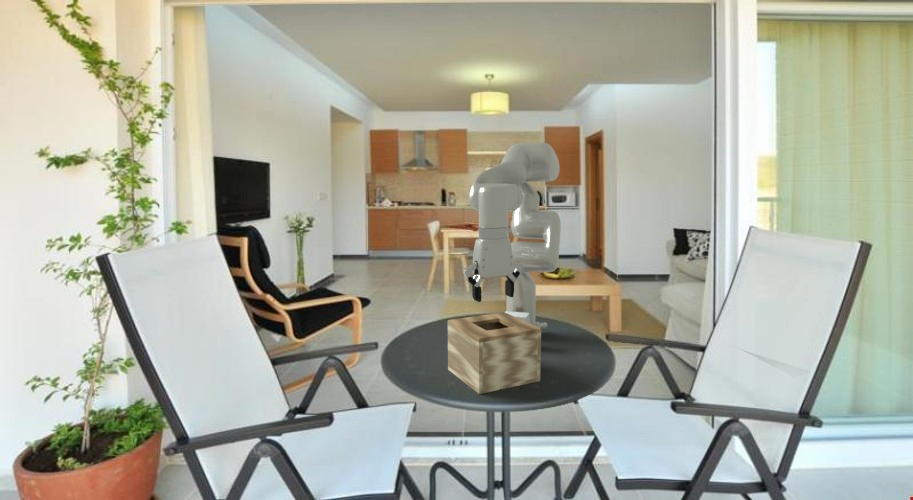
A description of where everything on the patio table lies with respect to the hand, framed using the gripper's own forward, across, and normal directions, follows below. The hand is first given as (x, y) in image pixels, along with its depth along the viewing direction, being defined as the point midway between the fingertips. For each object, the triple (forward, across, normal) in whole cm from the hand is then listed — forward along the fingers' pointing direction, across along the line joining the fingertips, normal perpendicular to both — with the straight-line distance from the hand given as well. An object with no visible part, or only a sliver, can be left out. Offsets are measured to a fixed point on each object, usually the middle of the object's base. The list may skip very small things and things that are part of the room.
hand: (493, 298), depth 133 cm
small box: (+22, -17, -16) cm, 32 cm away
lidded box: (+21, +1, +1) cm, 21 cm away
